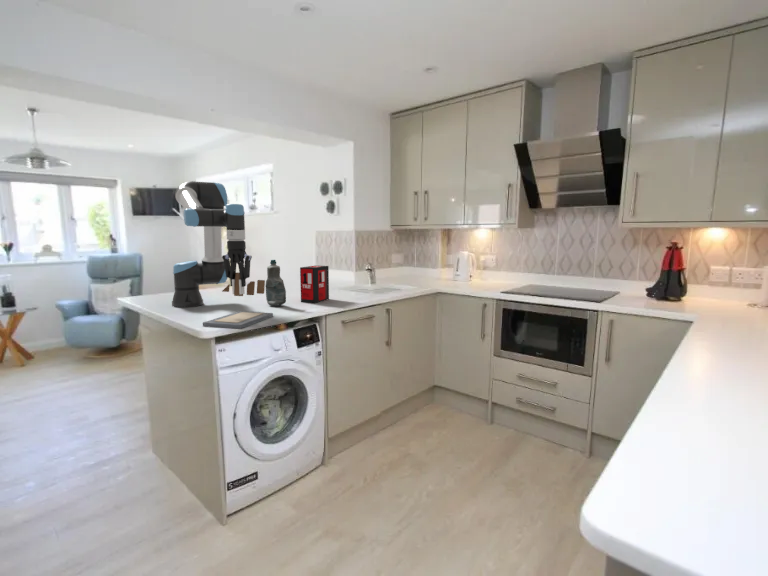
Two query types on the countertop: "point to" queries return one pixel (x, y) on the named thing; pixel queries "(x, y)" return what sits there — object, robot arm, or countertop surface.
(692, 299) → the countertop surface
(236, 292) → the wooden block set
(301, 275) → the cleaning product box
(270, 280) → the detergent
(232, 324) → the baseplate
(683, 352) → the countertop surface
